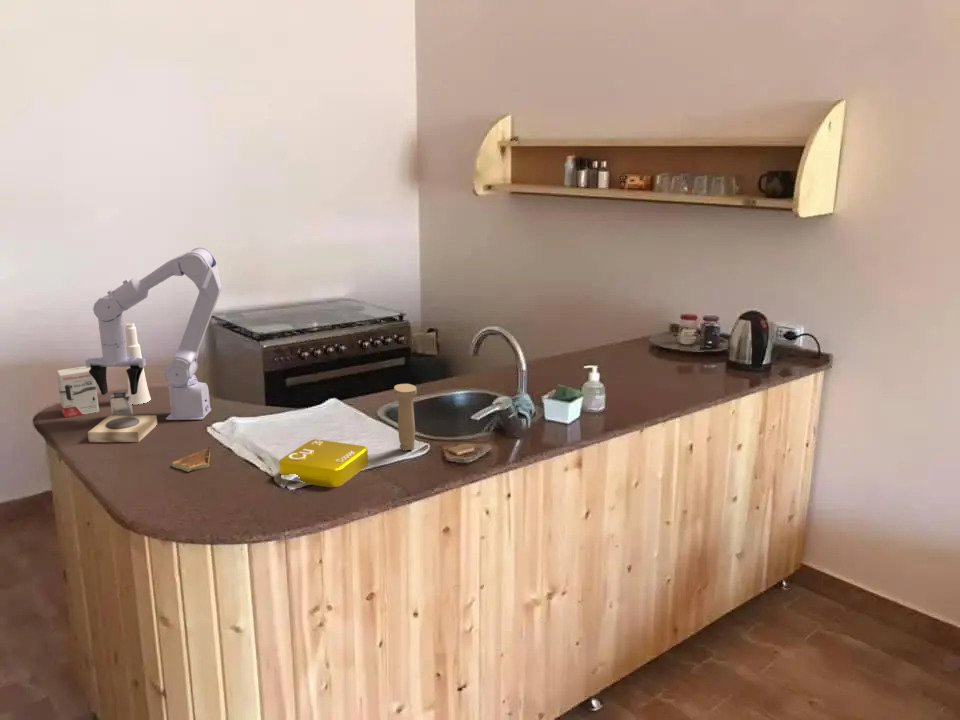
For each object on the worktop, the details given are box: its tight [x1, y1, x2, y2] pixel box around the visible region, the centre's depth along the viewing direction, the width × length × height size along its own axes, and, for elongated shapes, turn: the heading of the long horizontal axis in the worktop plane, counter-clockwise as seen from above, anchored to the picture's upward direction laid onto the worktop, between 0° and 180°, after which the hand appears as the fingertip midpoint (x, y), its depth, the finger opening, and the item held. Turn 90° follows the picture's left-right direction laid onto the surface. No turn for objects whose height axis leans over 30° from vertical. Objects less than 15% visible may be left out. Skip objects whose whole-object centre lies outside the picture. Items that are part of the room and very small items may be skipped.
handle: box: [393, 383, 418, 451], centre depth 193 cm, size 5×6×15 cm
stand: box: [87, 414, 158, 443], centre depth 206 cm, size 12×12×3 cm
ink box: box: [56, 365, 100, 418], centre depth 220 cm, size 8×5×12 cm, turn 123°
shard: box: [171, 446, 211, 473], centre depth 188 cm, size 11×8×2 cm
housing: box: [109, 390, 134, 416], centre depth 217 cm, size 5×5×7 cm
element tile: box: [278, 439, 369, 488], centre depth 183 cm, size 15×15×5 cm
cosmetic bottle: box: [124, 322, 152, 406], centre depth 228 cm, size 6×6×22 cm
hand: (119, 393), depth 216 cm, fingers open, 7 cm apart
